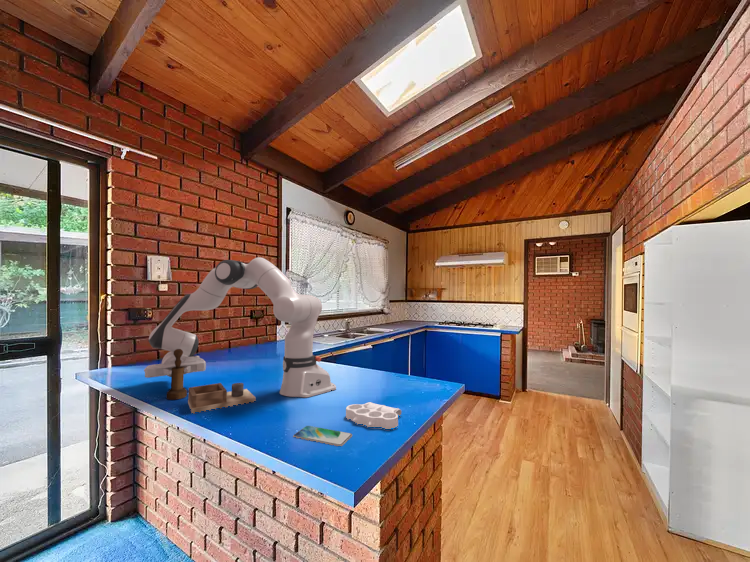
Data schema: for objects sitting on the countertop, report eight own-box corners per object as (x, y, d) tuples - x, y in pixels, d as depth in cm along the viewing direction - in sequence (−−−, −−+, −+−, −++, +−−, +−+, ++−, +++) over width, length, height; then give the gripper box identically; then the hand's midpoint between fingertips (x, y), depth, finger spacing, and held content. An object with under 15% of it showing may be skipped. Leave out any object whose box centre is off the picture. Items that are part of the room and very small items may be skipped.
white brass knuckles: (410, 419, 98) (386, 436, 86) (363, 408, 108) (336, 422, 95) (410, 408, 98) (386, 424, 86) (363, 398, 108) (336, 410, 96)
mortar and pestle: (190, 394, 120) (192, 347, 121) (178, 400, 114) (180, 350, 115) (174, 394, 121) (176, 347, 122) (161, 399, 114) (163, 350, 115)
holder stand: (246, 392, 123) (246, 378, 123) (255, 401, 112) (255, 386, 113) (187, 402, 111) (188, 387, 111) (191, 413, 101) (192, 396, 101)
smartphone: (341, 445, 79) (292, 435, 84) (341, 449, 79) (292, 438, 84) (353, 433, 86) (307, 424, 91) (353, 436, 85) (307, 427, 91)
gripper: (144, 360, 122) (143, 367, 111) (203, 355, 134) (208, 360, 123) (143, 377, 122) (143, 385, 111) (202, 369, 134) (207, 376, 123)
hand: (177, 372), depth 117 cm, fingers closed on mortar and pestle, 4 cm apart
